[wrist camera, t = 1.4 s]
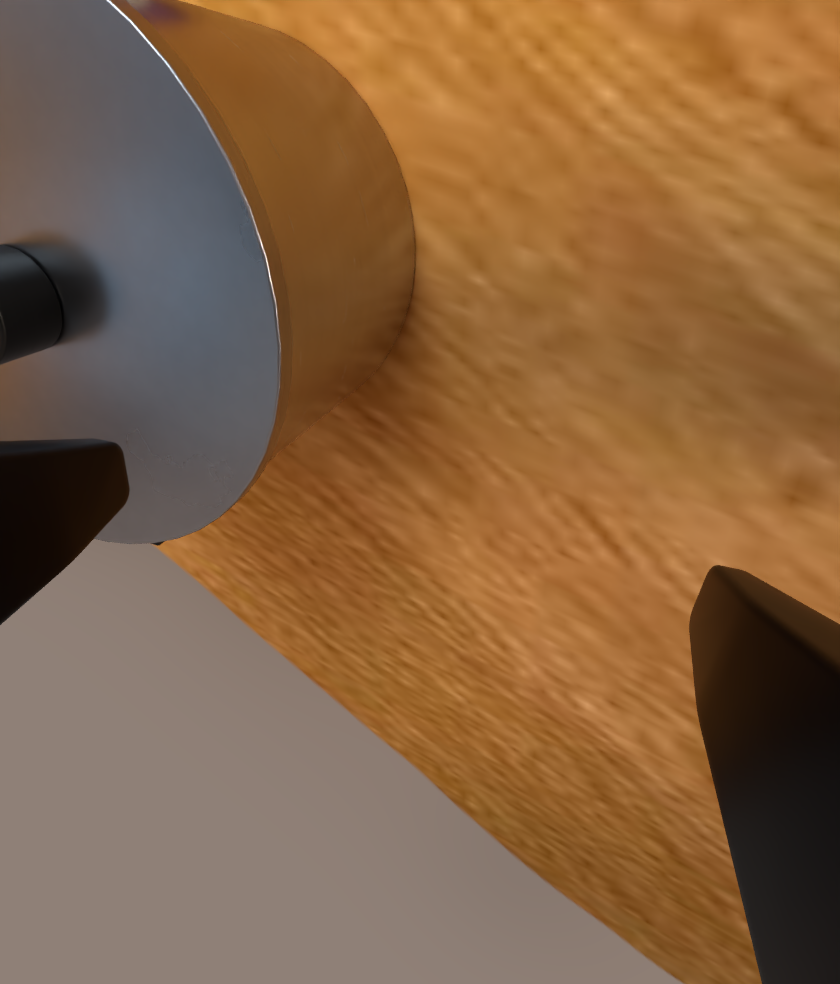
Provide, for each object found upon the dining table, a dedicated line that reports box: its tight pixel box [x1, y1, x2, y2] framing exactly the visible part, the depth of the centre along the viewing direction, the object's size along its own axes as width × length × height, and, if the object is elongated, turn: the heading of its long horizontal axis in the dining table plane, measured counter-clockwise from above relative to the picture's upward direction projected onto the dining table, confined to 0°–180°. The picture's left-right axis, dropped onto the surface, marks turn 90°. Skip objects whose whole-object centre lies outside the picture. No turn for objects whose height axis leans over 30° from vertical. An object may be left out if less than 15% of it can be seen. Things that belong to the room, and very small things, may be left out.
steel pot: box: [0, 0, 415, 545], centre depth 18 cm, size 14×16×11 cm
